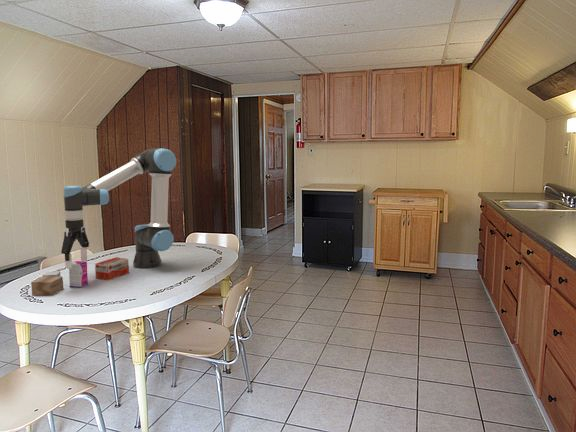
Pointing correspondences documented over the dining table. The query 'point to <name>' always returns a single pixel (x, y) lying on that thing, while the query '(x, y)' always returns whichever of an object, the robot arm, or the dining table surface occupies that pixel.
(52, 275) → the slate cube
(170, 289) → the dining table surface
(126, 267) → the medicine box
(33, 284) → the brown cardboard box
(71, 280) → the supplement box
